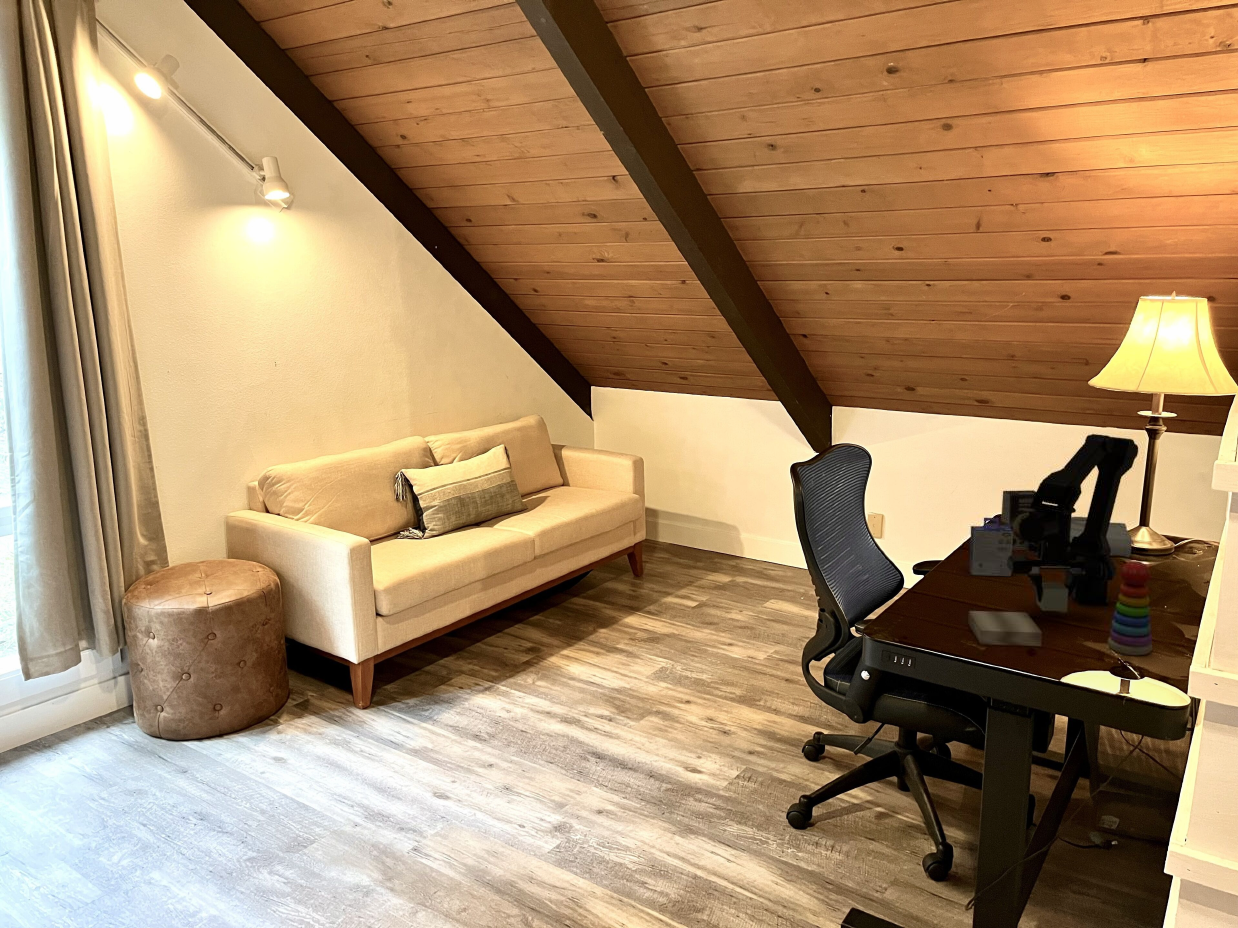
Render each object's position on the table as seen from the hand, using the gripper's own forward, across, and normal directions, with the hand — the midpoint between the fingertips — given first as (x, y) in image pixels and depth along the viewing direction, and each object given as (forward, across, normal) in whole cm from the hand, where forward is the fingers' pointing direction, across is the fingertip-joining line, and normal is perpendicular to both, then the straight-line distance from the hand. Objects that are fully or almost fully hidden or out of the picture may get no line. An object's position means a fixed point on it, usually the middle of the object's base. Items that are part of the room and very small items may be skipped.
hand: (1051, 601), depth 205 cm
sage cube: (+1, 0, 0) cm, 1 cm away
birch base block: (+4, +13, +12) cm, 18 cm away
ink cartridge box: (+4, +6, -32) cm, 33 cm away
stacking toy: (+4, -10, +18) cm, 21 cm away
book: (+4, -27, -58) cm, 64 cm away
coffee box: (+4, -8, -57) cm, 58 cm away
